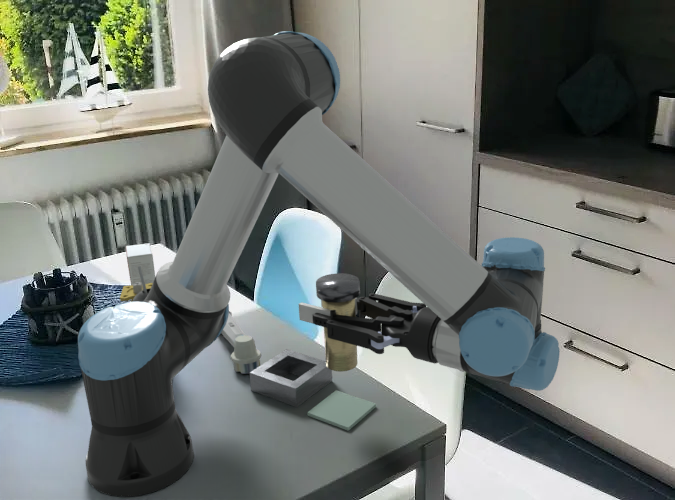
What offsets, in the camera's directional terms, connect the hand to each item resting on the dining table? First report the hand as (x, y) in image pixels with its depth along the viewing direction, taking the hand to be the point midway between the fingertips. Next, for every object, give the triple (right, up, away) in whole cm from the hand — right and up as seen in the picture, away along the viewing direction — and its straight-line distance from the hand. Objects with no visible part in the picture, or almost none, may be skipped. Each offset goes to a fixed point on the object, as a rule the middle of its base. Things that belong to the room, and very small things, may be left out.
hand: (311, 304), depth 113 cm
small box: (-41, -1, +54) cm, 68 cm away
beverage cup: (-29, -13, +19) cm, 37 cm away
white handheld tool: (-16, -10, +26) cm, 33 cm away
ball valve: (-36, -7, +38) cm, 53 cm away
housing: (-4, -15, +11) cm, 19 cm away
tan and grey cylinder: (+5, -9, 0) cm, 10 cm away
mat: (+5, -18, +3) cm, 18 cm away
